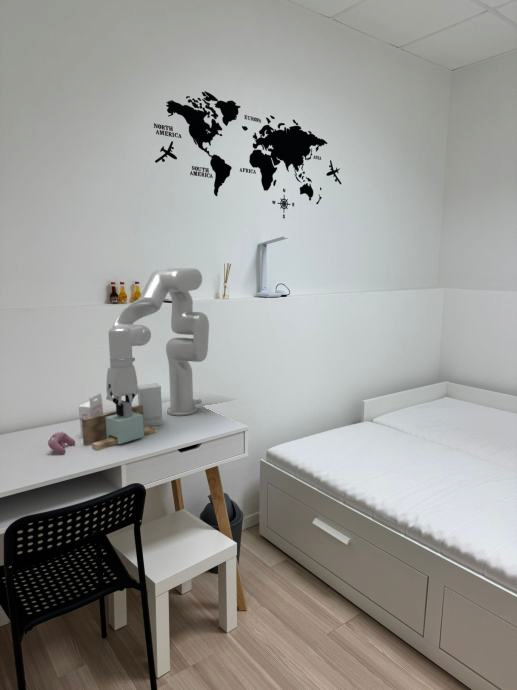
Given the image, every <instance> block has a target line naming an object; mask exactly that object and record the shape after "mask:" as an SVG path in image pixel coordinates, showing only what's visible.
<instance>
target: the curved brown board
mask: <svg viewBox="0 0 517 690" xmlns="http://www.w3.org/2000/svg"><path fill="white" fill-rule="evenodd" d="M132 412H135V413H138V414H142V415H143V406H142V405H135V406H132ZM115 414H116V410H115V411H110V412H105V413H103V414H102V415H98V416H94V417H90V418H85V419H82V431H83V437H82V442H83V443H82V444H84V446H89V445H91V448H92V449H93V450H95V451H99V450H104V449H106V447H107V448H109V447H112V446H116V445H119V444H118V442H117V437H112V438H108V439H107V435H106V418H105V417H108V416H111V415H115ZM143 427H144V422H143ZM155 433H156V427H155V426H150V427H144V437H145V435H146V436H149V435H152V434H155ZM148 434H149V435H148Z"/></svg>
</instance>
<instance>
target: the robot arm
mask: <svg viewBox="0 0 517 690" xmlns="http://www.w3.org/2000/svg"><path fill="white" fill-rule="evenodd" d="M202 283H203V276H202V273H201V271H200V270H199V269H197V268H192V267H191V268H190V267H189V268H187V267H186V268H180V267H179V268H177V267H175V268H172V267H171V268H167V269H166V268H165V269H158V270H155V271H154V272H152V273H151V274H150V277H149V278H148V281H147V283H146V284H145V285H144V288H143V290H142V292H141V293H140V296H139V297H138V299H136V300H134V301H133V302H132V303H130V304H129V305H128V306H127V307H125V308H124V309H123V310H122V311H120V313H119V314H118V315H117V317H116V319H115V322H114V323H113V325H112V328H110V329H109V331H108V349H109V350H108V351H109V365H110V367H108V368H107V371H106V372H107V374H106V387H105V388H106V394H107V395H106V398H105V399H106V400H107V401H110V402H112V403H113V404H114V405H115V411H116V413H117V415H119V416H123V405H121V404H122V400H123V399H122V397H123V396H124V401H127V402H130V403H132V404H133V400H134V399H135V397H136V396H138V393H139V390H138V388H137V385H138V377H137V371H136V368H135V365H134V362H135V361H136V358H135V357H133V347H140V346H141V347H142V346H145V345H147V344H148V343H149V342H150V340H151V337H152V331H151V329H150V328H149V327H148V326H146V325H143V324H135V322H136V321H139V320H140V319H142V318H145V317H148V316H151V315H153V314H156V313H157V312H158V311H160V309H161V307H162V305H163V304H164V302H165V299H166V298H167V295H168V294H169V295H170V298H171V316H170V318H171V319H170V327H171V331H172V332H173V333H175V334H177V335H185V336H187V335H189V336H193V337H191V338H189V337H173V338H170V339H169V340H168V341H167V343H166V345H165V353H166V357H167V362H168V371H169V372H168V373H169V399H170V407H168V408H167V409H166V413H167V414H168V415H172V416H177V417H179V416H181V417H182V416H189V415H193V414H195V413H196V412H197V411H198V407H197V405H199V404H202V399H201V398H199V399H194V386H193V385H194V384H193V383H194V382H193V370H192V365H191V364H190V362H192V363H193V362H194V363H202V362H203V361H205V360H206V359H207V355H208V352H209V351H208V349H209V334H210V333H209V331H210V321H209V319H208V316H207V315H206V314H205V313H204V312H200V311H193V304H194V303H193V297H192V295H191V293H190V291H191V292H192V291H196V290H198V289H199V288H200V287H201V285H202Z"/></svg>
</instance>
